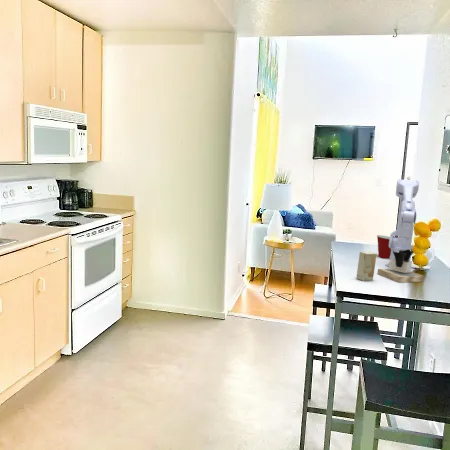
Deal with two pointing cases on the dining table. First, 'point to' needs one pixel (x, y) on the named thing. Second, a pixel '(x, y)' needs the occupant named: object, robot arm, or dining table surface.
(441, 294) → the dining table surface
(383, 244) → the plastic cup
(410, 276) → the stand
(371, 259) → the skincare box
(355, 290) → the dining table surface
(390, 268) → the housing
